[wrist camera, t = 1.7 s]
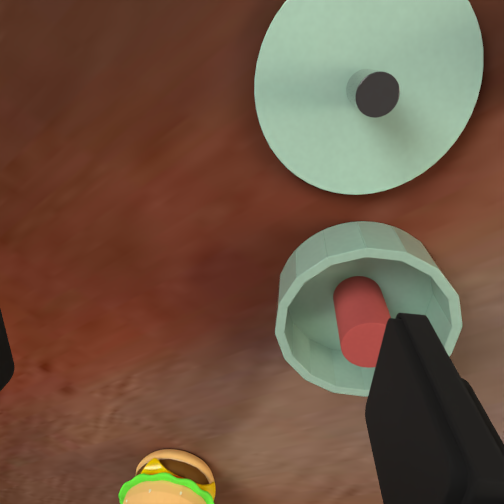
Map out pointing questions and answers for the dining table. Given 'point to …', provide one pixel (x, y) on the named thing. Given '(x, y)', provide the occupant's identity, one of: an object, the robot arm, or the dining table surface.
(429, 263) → the pot
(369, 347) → the red cylinder
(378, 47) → the lid
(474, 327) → the dining table surface
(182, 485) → the hamburger
